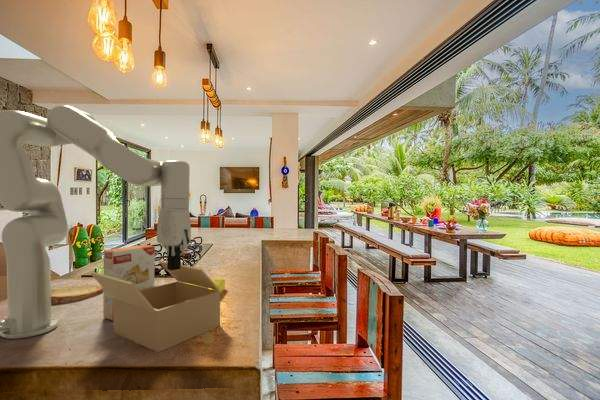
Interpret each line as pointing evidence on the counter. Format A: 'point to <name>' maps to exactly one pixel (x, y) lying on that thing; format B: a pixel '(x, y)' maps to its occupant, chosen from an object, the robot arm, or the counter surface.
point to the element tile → (218, 284)
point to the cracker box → (128, 270)
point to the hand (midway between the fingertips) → (174, 269)
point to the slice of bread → (74, 293)
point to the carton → (168, 315)
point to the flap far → (191, 276)
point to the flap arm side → (123, 291)
